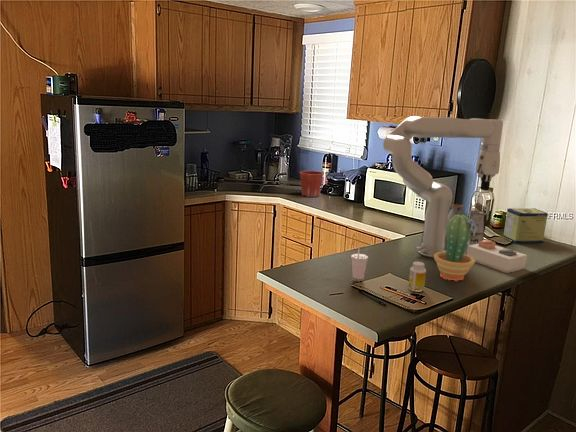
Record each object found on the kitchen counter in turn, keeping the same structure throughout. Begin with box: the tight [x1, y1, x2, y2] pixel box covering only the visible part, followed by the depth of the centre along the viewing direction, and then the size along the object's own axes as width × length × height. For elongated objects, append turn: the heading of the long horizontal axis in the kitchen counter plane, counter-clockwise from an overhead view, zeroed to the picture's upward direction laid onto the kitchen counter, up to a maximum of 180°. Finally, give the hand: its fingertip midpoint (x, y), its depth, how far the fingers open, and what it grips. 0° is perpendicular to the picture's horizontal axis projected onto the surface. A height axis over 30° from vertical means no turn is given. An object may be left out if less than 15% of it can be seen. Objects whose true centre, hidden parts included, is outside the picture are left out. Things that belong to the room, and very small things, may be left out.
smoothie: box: [350, 244, 369, 279], centre depth 182 cm, size 6×6×14 cm
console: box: [466, 244, 528, 274], centre depth 208 cm, size 12×20×6 cm, turn 32°
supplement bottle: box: [408, 261, 427, 291], centre depth 175 cm, size 6×6×10 cm
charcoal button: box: [499, 247, 518, 256], centre depth 203 cm, size 5×5×6 cm
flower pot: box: [299, 170, 324, 198], centre depth 334 cm, size 16×16×16 cm
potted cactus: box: [433, 214, 477, 282], centre depth 188 cm, size 15×15×25 cm
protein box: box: [503, 207, 549, 244], centre depth 243 cm, size 10×16×16 cm
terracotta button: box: [479, 239, 497, 250], centre depth 211 cm, size 5×5×6 cm
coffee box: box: [466, 210, 488, 247], centre depth 232 cm, size 9×6×16 cm
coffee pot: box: [447, 203, 464, 223], centre depth 257 cm, size 21×12×15 cm, turn 164°
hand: (484, 189), depth 216 cm, fingers closed
